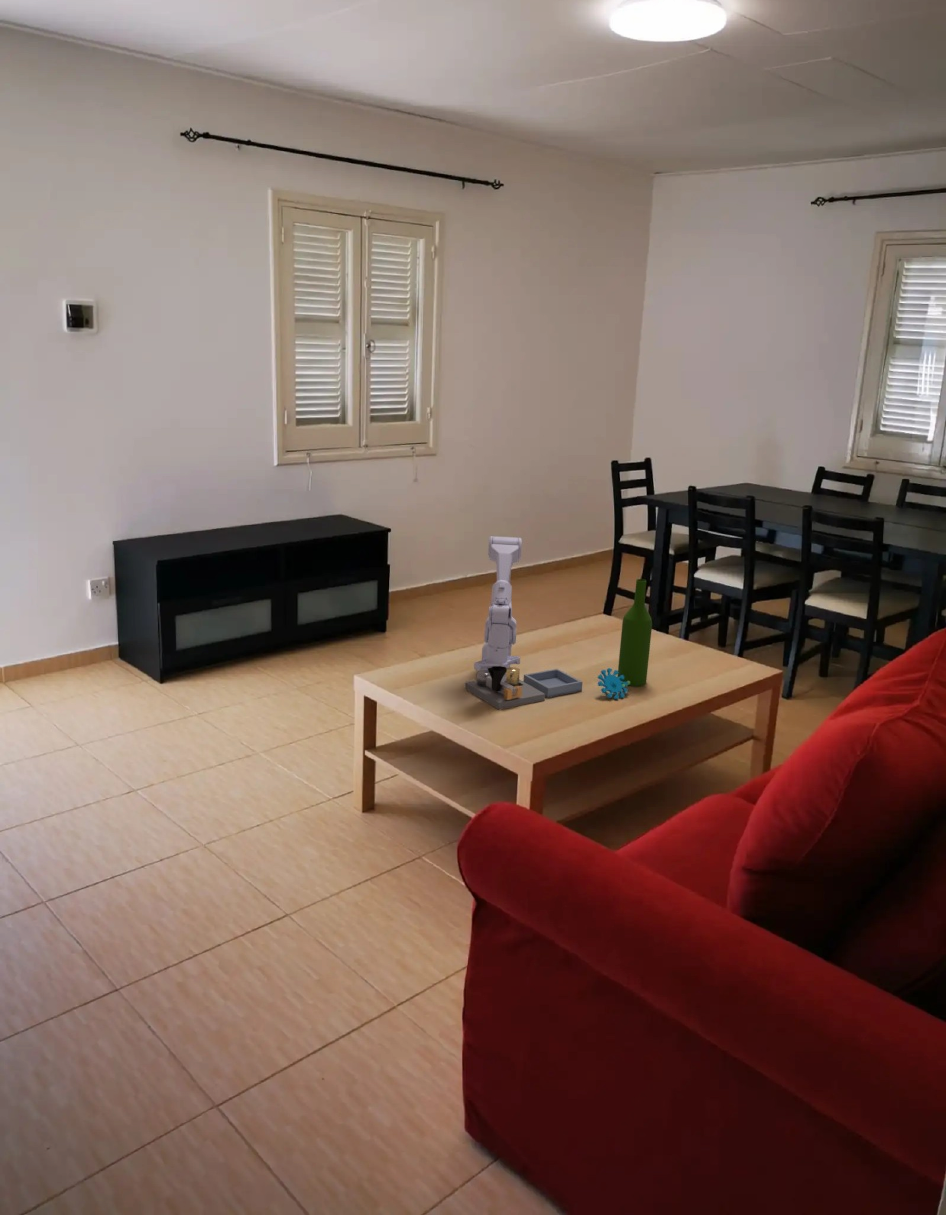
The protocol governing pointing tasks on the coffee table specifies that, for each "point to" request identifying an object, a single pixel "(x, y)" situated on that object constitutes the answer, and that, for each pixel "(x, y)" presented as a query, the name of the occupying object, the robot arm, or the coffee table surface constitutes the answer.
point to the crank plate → (498, 699)
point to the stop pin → (512, 676)
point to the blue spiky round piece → (613, 684)
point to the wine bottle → (635, 640)
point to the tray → (553, 682)
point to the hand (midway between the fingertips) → (495, 690)
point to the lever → (505, 688)
